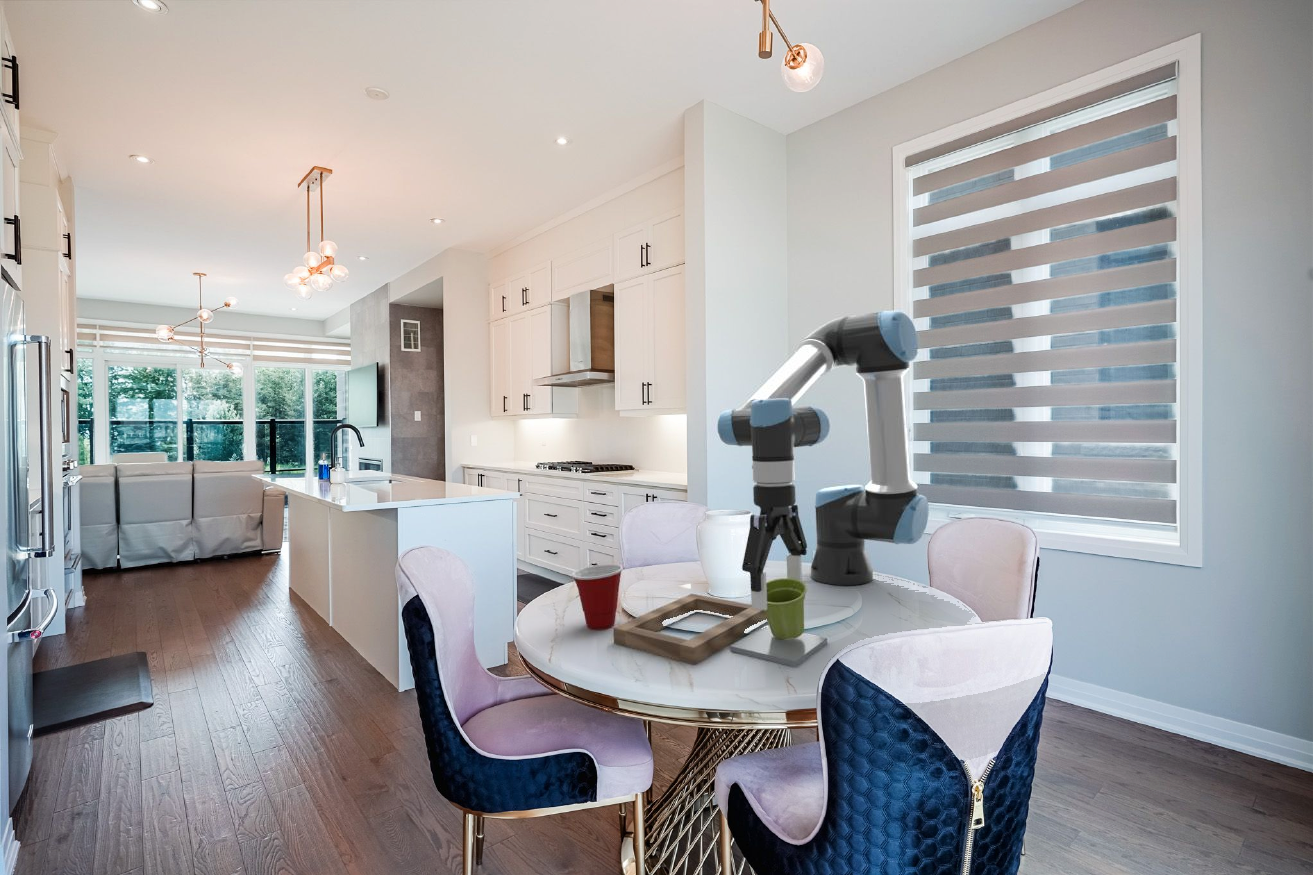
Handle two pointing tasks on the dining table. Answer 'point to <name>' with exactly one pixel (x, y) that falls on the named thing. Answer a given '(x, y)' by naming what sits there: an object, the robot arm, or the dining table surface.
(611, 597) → the plastic cup
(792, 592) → the plant pot
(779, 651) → the slate coaster
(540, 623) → the dining table surface
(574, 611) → the dining table surface
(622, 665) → the dining table surface
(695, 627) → the dining table surface
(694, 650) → the open rectangular wooden frame
